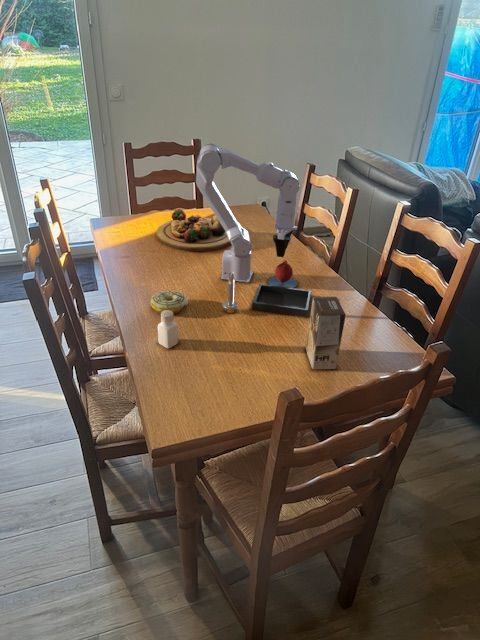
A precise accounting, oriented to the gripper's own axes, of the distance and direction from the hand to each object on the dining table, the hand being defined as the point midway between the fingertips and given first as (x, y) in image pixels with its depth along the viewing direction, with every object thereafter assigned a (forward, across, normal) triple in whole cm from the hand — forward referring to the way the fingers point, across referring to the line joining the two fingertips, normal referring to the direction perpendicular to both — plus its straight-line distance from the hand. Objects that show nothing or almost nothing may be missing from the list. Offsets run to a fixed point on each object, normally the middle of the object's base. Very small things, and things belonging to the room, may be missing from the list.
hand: (282, 252), depth 155 cm
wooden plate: (+10, +26, +38) cm, 47 cm away
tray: (+9, -17, -3) cm, 20 cm away
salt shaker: (+10, -48, +23) cm, 54 cm away
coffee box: (+10, -43, -17) cm, 48 cm away
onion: (+9, -4, -2) cm, 10 cm away
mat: (+9, -4, -2) cm, 11 cm away
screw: (+10, -27, +11) cm, 30 cm away
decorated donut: (+10, -30, +29) cm, 43 cm away
